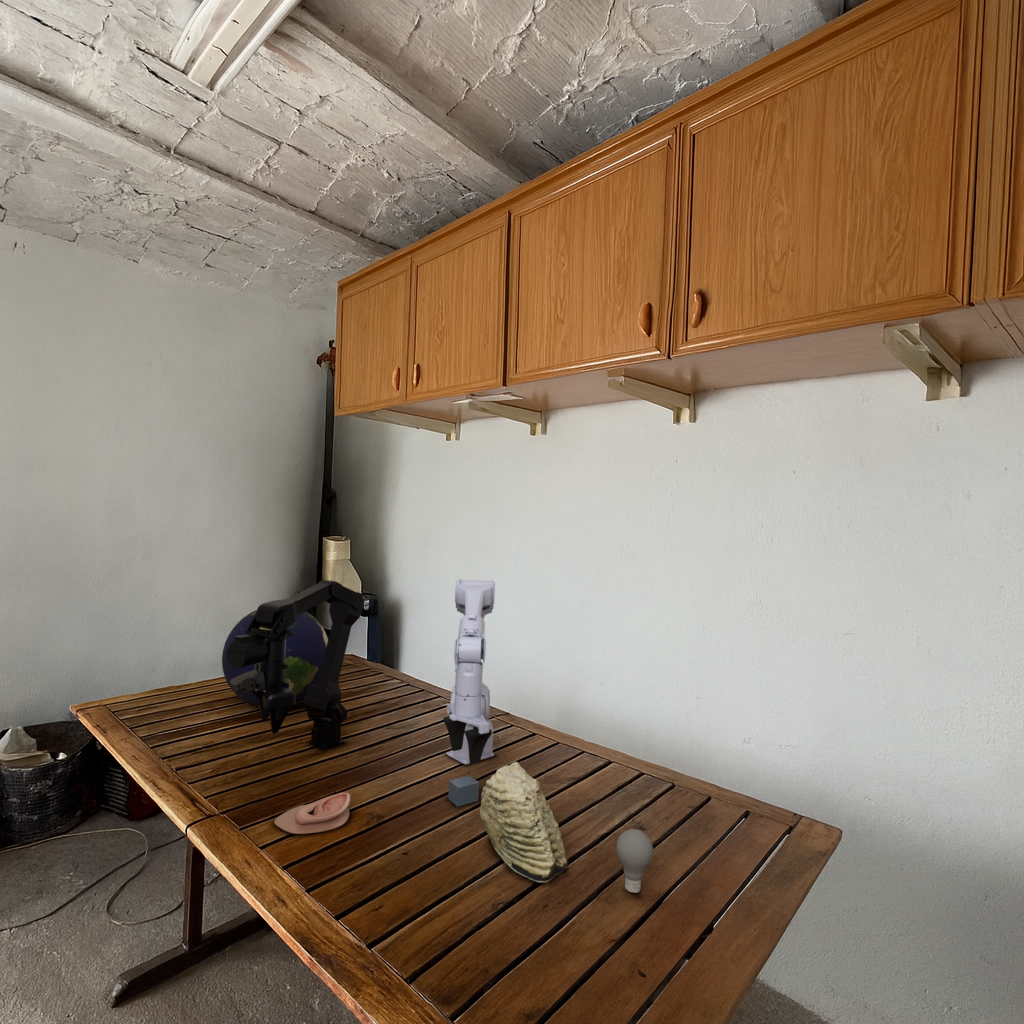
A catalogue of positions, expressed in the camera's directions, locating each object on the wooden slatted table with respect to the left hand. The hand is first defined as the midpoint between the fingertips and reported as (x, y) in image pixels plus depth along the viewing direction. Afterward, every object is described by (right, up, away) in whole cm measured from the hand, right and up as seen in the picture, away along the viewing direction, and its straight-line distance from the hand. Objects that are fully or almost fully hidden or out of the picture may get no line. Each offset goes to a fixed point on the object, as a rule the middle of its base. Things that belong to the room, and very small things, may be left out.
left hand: (269, 726), depth 145 cm
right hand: (+46, -3, -10) cm, 47 cm away
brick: (+45, -12, -10) cm, 48 cm away
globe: (-15, -9, +43) cm, 47 cm away
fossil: (+57, -13, -30) cm, 66 cm away
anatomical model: (+16, -11, -21) cm, 29 cm away
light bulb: (+76, -14, -39) cm, 86 cm away
